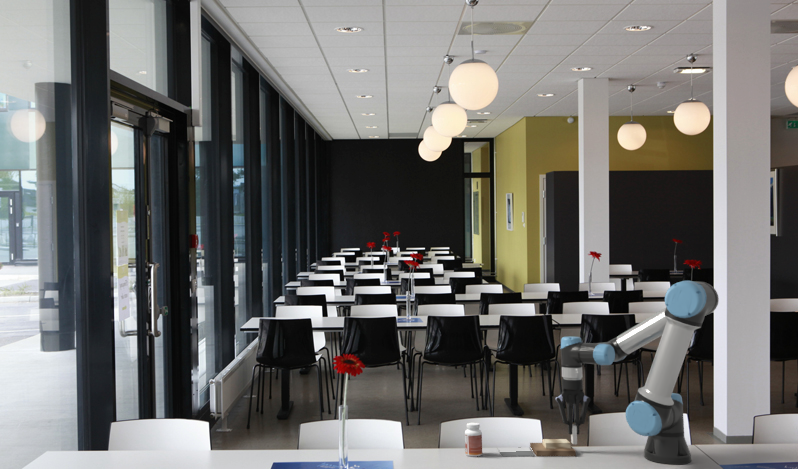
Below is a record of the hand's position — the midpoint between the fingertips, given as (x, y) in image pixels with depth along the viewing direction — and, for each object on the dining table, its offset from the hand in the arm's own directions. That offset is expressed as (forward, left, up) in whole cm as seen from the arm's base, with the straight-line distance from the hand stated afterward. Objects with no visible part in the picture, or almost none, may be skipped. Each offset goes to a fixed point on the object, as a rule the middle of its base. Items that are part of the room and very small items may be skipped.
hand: (574, 443), depth 224 cm
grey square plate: (+20, +9, -3) cm, 22 cm away
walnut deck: (+7, +4, -3) cm, 9 cm away
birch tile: (+6, +3, -1) cm, 7 cm away
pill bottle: (+33, +19, -3) cm, 38 cm away
